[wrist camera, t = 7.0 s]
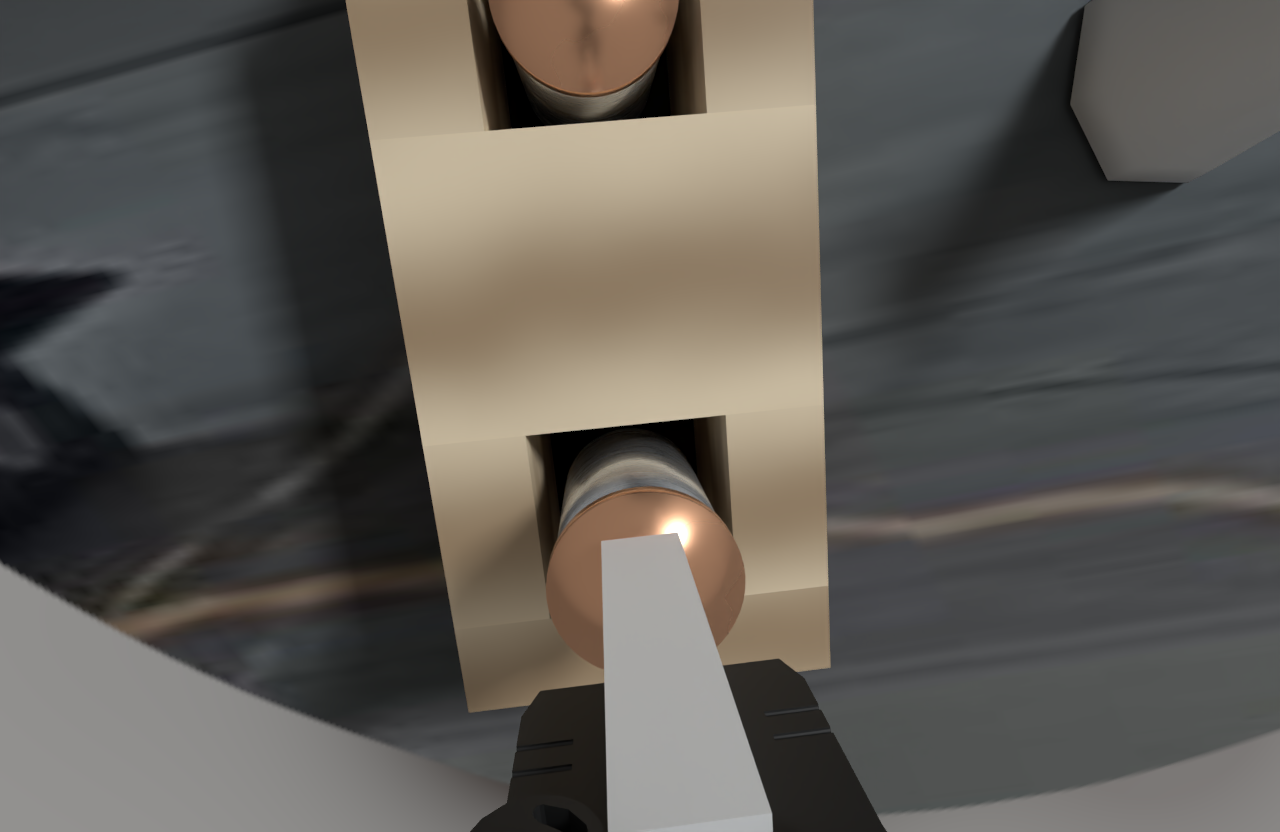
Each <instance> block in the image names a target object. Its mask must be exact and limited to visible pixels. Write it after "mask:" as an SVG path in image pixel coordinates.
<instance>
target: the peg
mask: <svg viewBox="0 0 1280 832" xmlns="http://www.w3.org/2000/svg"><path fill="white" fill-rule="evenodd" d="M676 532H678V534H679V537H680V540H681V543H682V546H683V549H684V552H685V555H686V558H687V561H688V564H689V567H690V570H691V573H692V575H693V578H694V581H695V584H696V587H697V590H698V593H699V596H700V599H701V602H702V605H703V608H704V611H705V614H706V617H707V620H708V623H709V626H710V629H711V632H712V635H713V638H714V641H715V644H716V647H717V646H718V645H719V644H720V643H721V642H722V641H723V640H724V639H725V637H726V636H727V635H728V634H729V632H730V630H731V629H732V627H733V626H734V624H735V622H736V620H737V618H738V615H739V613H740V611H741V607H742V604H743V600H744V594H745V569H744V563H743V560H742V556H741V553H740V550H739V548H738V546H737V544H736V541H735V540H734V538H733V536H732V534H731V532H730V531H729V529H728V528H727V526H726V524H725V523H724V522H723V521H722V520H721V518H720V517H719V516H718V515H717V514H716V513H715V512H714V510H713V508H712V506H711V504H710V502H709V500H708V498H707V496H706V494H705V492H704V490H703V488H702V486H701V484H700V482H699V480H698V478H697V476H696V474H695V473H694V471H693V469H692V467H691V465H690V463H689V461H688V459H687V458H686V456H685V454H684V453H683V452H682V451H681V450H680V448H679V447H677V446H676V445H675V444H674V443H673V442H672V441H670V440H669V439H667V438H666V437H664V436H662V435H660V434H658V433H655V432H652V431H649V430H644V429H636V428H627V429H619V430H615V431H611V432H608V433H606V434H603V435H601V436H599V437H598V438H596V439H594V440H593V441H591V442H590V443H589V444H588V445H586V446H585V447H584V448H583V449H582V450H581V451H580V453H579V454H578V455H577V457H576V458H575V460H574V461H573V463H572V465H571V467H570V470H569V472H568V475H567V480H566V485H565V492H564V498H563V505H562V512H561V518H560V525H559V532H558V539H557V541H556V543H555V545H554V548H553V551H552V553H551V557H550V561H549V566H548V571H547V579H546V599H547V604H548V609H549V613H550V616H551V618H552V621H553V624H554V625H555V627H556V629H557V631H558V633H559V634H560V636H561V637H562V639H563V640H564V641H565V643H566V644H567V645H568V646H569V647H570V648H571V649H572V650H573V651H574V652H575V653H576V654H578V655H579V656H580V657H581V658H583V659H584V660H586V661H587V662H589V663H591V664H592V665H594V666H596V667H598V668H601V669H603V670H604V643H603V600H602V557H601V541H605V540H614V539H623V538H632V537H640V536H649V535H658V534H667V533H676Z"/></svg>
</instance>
